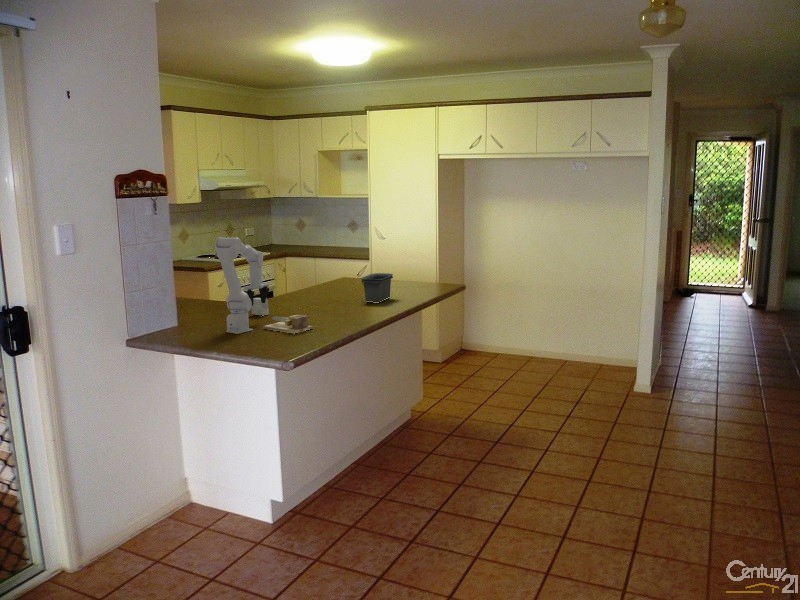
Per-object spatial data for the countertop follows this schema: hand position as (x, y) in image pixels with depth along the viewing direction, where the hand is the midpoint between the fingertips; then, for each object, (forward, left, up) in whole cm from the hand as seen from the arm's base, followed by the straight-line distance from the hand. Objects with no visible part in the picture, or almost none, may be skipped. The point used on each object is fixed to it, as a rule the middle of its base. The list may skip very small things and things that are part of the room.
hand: (257, 304), depth 321 cm
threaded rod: (-2, -21, -6) cm, 22 cm away
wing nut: (-2, -27, -8) cm, 28 cm away
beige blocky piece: (-2, -22, -9) cm, 24 cm away
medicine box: (+14, +14, -10) cm, 22 cm away
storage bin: (+78, -11, -10) cm, 79 cm away
